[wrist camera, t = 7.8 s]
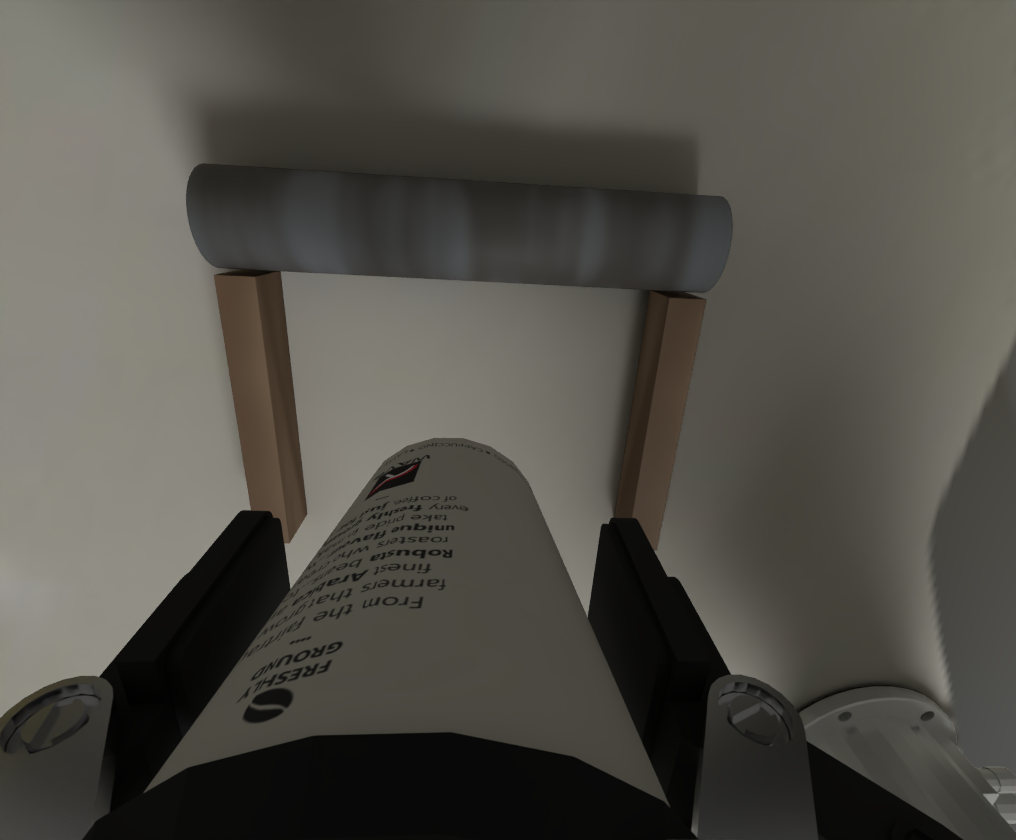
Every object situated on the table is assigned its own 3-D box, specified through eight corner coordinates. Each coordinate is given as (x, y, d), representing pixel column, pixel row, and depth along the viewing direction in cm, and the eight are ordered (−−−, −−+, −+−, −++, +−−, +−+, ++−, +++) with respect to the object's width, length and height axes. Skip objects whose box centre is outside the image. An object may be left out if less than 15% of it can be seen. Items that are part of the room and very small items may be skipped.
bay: (699, 198, 21) (741, 193, 17) (641, 521, 26) (664, 564, 23) (230, 168, 19) (177, 157, 16) (277, 513, 25) (245, 557, 22)
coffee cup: (322, 369, 11) (-342, 992, 2) (610, 416, 12) (1005, 1017, 3) (309, 603, 14) (-30, 1356, 5) (548, 629, 15) (661, 1317, 6)
